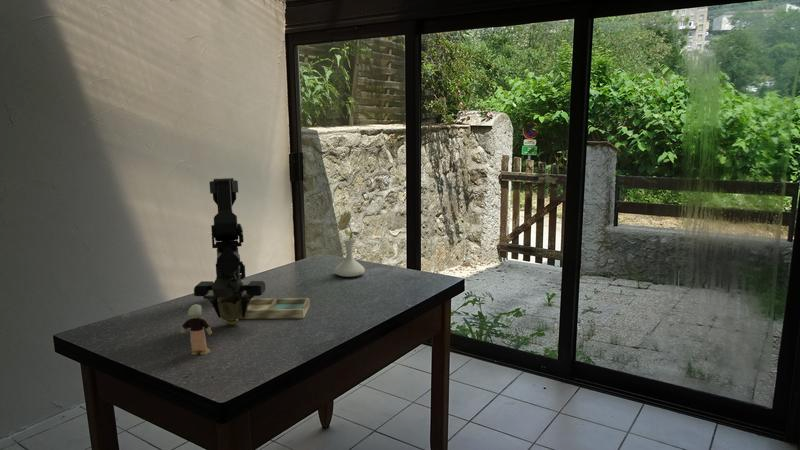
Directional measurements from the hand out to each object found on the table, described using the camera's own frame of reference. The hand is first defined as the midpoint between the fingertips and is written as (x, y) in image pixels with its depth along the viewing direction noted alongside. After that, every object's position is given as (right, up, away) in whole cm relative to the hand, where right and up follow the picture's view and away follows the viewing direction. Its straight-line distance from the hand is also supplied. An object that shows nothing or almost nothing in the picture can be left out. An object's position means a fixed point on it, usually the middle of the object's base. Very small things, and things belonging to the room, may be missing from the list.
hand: (232, 317), depth 160 cm
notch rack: (+9, 0, +11) cm, 14 cm away
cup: (0, -2, 0) cm, 2 cm away
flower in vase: (+29, +7, +50) cm, 59 cm away
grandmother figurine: (-3, -6, -18) cm, 19 cm away
